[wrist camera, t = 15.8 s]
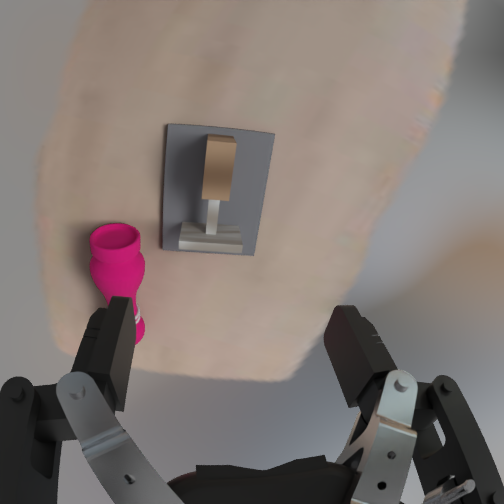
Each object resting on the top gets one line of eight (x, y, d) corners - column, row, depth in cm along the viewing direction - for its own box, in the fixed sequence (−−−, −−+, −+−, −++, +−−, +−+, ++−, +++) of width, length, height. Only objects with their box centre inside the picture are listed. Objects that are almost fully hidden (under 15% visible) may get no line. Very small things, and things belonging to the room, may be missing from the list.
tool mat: (168, 123, 30) (168, 124, 30) (273, 133, 32) (274, 134, 32) (163, 247, 38) (162, 249, 37) (253, 253, 40) (253, 255, 40)
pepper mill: (73, 242, 29) (99, 351, 40) (122, 260, 29) (137, 369, 39) (109, 216, 35) (121, 322, 46) (155, 229, 35) (158, 337, 45)
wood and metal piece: (189, 132, 30) (185, 139, 26) (251, 138, 32) (258, 146, 27) (182, 228, 36) (178, 249, 32) (237, 232, 38) (241, 253, 33)
